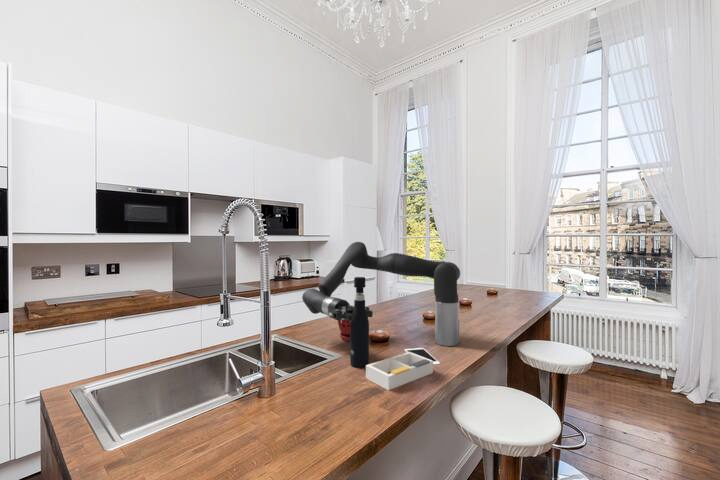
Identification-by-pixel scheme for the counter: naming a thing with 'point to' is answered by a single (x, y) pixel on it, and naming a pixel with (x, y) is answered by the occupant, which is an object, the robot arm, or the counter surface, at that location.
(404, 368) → the bottle holder
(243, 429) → the counter surface
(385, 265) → the robot arm
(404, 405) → the counter surface
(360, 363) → the black water bottle
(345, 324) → the plant pot
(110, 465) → the counter surface
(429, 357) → the cell phone
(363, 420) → the counter surface
